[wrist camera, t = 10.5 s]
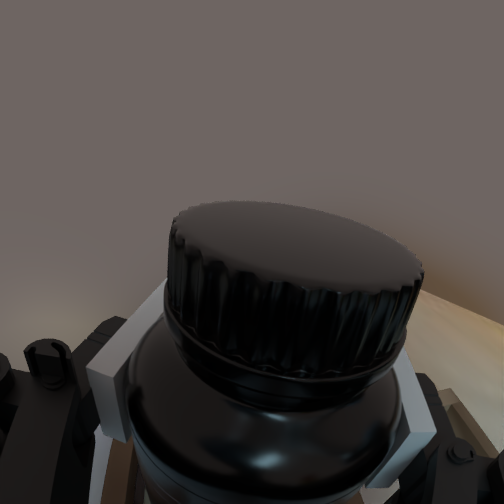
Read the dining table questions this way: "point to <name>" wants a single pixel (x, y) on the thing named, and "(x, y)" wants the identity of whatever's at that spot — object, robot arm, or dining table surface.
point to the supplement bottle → (271, 357)
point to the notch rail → (464, 426)
